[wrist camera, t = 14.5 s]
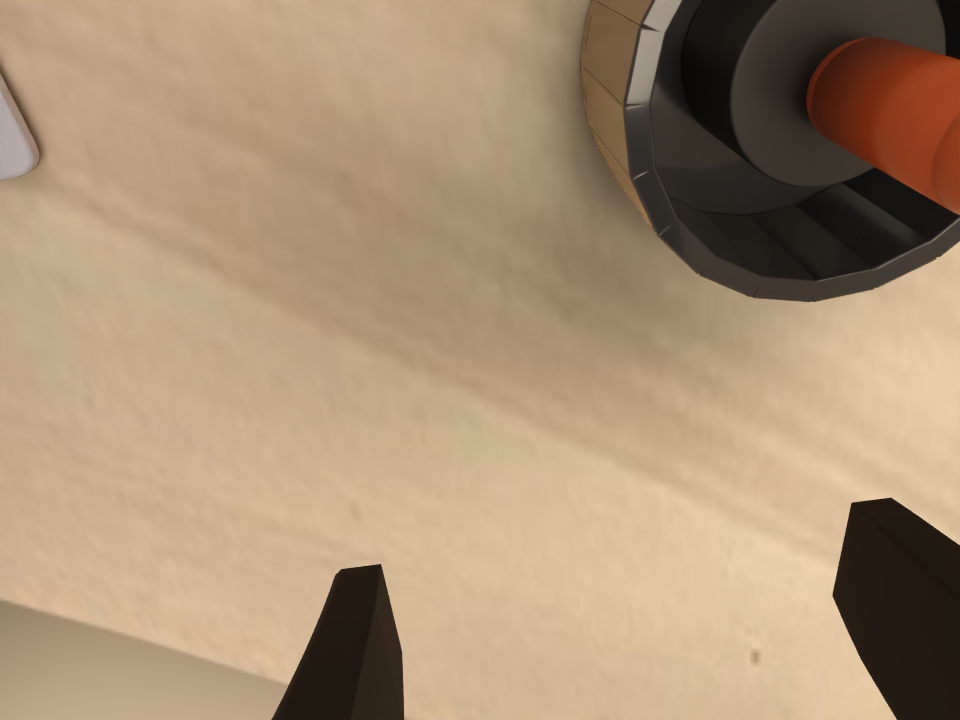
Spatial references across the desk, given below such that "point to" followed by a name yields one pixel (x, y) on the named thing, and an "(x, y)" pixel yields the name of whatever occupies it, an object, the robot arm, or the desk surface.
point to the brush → (829, 90)
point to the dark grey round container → (741, 175)
